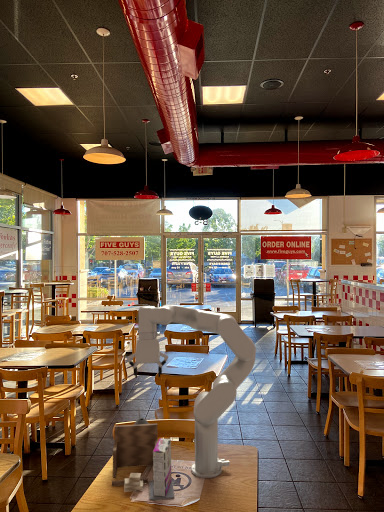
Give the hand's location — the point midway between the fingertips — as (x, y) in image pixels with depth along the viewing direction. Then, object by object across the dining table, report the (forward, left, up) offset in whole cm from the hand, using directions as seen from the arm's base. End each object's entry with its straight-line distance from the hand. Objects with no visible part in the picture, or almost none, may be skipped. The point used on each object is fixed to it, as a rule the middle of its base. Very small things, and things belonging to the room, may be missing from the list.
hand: (147, 376), depth 164 cm
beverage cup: (+3, -14, -38) cm, 41 cm away
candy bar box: (-5, +16, -38) cm, 41 cm away
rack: (+5, +4, -38) cm, 39 cm away
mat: (-5, +16, -38) cm, 42 cm away
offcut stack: (+5, +13, -38) cm, 41 cm away
